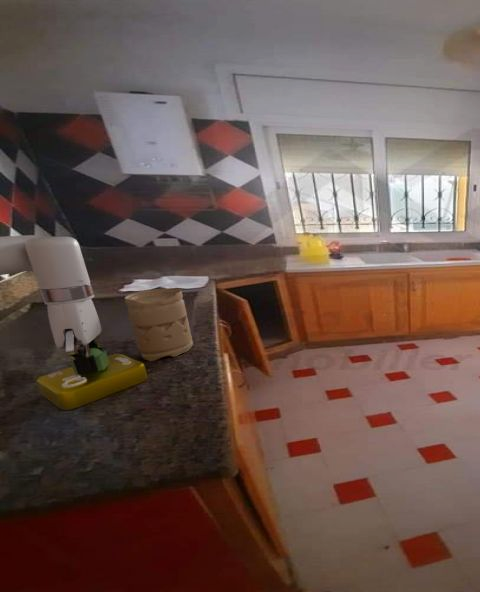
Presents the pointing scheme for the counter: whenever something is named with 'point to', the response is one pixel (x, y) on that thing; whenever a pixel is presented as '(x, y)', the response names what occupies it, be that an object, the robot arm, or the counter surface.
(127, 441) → the counter surface
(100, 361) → the toy
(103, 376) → the element tile
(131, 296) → the container
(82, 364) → the robot arm
